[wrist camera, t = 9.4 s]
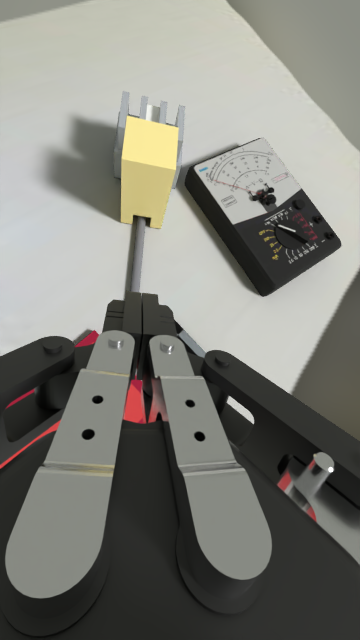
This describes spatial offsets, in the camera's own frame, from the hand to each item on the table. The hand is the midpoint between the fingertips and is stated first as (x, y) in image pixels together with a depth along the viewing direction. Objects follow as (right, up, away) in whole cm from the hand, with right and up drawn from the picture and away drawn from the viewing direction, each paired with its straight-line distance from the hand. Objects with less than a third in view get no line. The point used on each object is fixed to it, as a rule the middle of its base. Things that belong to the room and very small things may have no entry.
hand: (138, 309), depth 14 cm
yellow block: (-3, +14, +22) cm, 27 cm away
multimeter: (+13, +13, +26) cm, 32 cm away
